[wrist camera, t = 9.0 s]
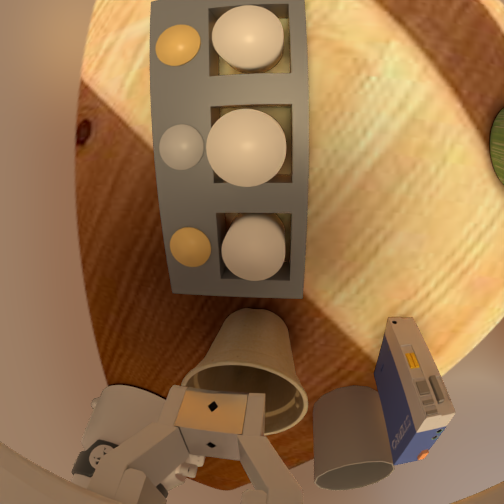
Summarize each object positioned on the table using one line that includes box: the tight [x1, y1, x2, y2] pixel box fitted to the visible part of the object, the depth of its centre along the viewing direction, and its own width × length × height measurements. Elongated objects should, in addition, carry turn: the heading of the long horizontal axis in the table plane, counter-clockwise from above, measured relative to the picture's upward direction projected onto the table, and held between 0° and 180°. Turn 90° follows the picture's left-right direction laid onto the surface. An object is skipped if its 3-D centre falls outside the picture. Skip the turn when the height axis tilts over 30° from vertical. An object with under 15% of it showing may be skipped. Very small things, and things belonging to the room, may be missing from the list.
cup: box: [313, 386, 395, 490], centre depth 27 cm, size 8×8×10 cm
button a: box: [222, 213, 285, 281], centre depth 21 cm, size 4×4×3 cm
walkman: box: [374, 317, 456, 465], centre depth 22 cm, size 8×3×12 cm, turn 4°
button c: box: [212, 5, 284, 74], centre depth 16 cm, size 4×4×3 cm
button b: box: [206, 109, 286, 187], centre depth 17 cm, size 4×4×3 cm
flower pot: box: [181, 308, 308, 435], centre depth 24 cm, size 9×9×9 cm
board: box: [150, 0, 309, 299], centre depth 19 cm, size 22×10×3 cm, turn 2°
